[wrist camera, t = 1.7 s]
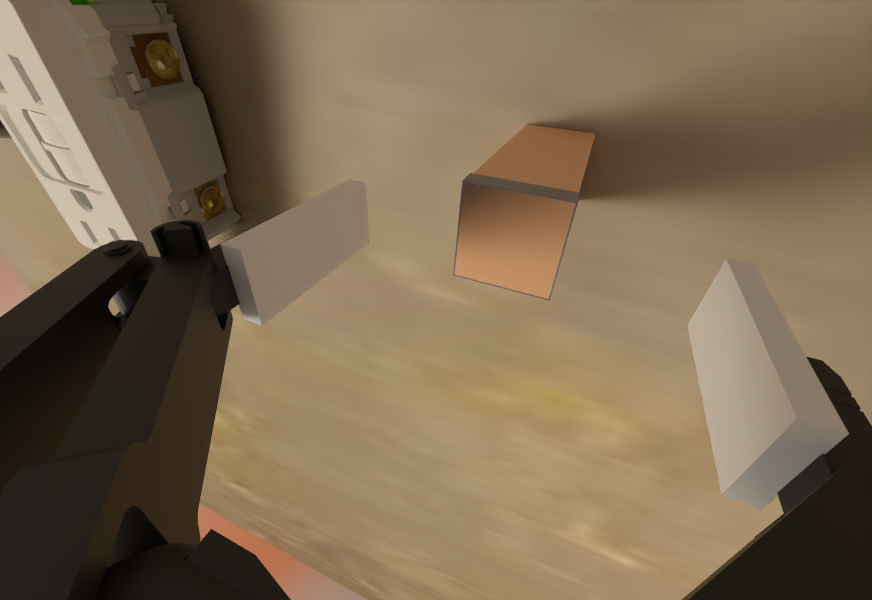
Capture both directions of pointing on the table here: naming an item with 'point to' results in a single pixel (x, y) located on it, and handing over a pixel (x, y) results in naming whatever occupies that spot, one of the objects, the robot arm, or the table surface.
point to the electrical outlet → (110, 118)
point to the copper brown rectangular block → (522, 210)
